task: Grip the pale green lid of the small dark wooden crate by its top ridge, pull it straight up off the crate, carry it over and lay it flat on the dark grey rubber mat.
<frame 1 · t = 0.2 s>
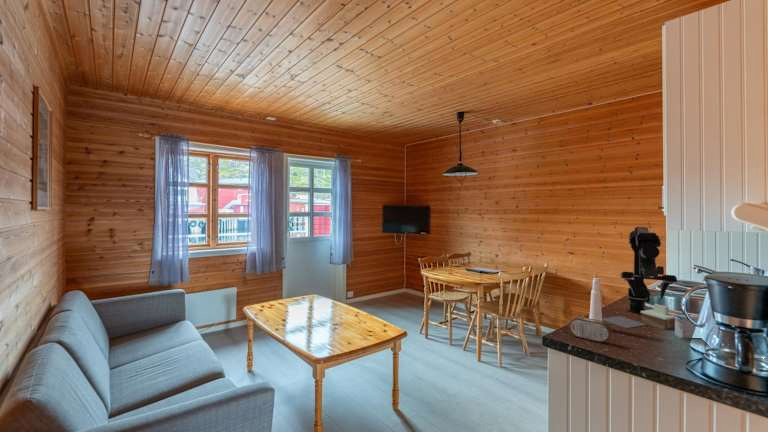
hand: (647, 297, 147), 15 cm above the worktop, tool pointing down, fingers open, 9 cm apart
medicine box: (688, 337, 143), on the worktop
crate: (660, 324, 158), on the worktop
tin: (589, 340, 141), on the worktop
cosmetic bottle: (595, 327, 155), on the worktop
lid: (660, 315, 158), point 4 cm above the worktop, touching crate
mat: (622, 322, 161), on the worktop
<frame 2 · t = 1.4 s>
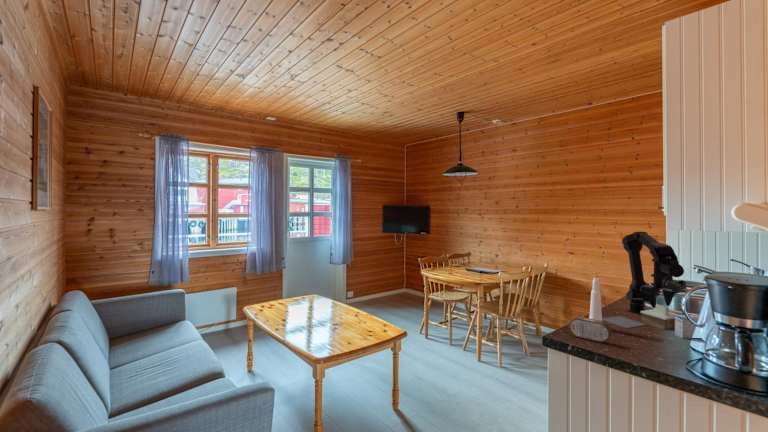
hand: (660, 306, 158), 8 cm above the worktop, tool pointing down, fingers open, 9 cm apart
nothing on the worktop moved.
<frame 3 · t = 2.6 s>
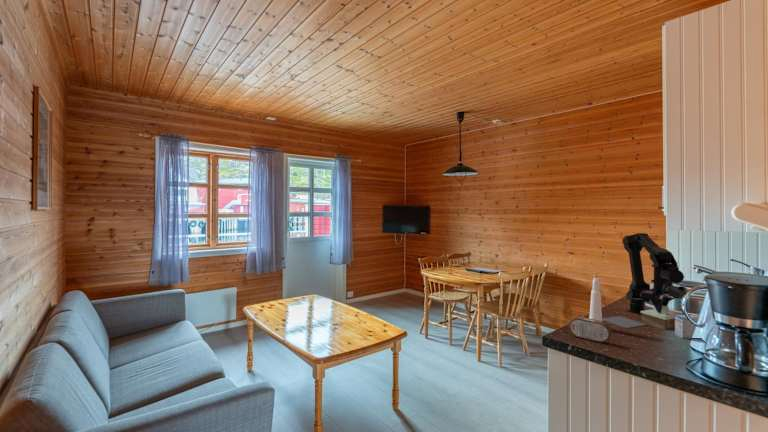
hand: (660, 312, 158), 6 cm above the worktop, tool pointing down, fingers closed on lid
lid: (660, 315, 158), point 4 cm above the worktop, touching crate, gripper
everything else where it was.
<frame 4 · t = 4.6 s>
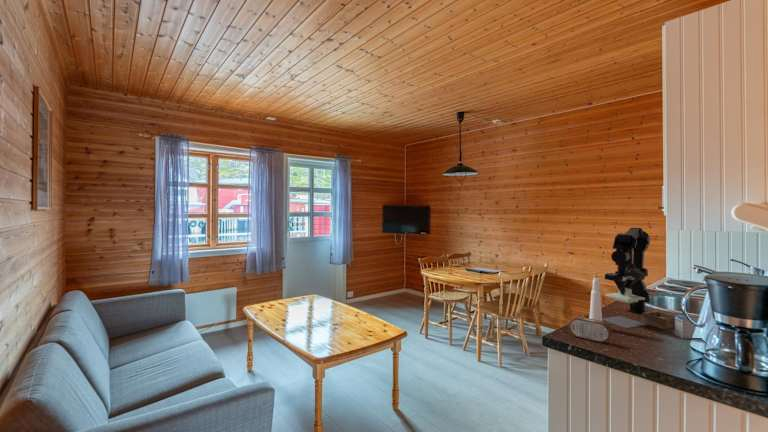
hand: (624, 294, 161), 13 cm above the worktop, tool pointing down, fingers closed on lid
lid: (624, 297, 161), point 12 cm above the worktop, touching gripper
everything else where it was.
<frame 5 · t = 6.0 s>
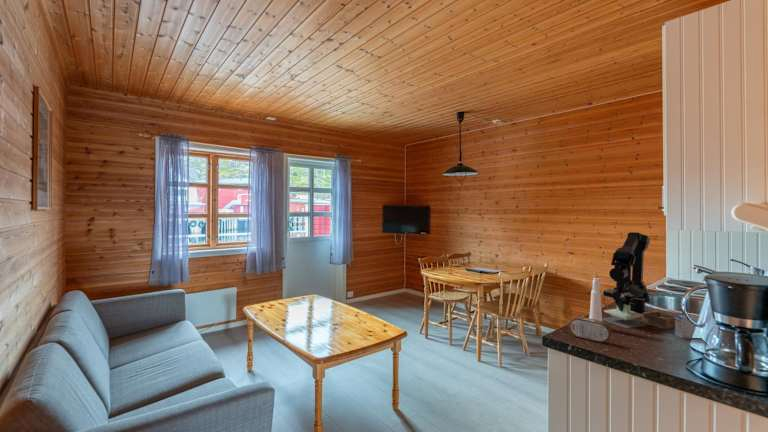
hand: (623, 310, 161), 5 cm above the worktop, tool pointing down, fingers closed on lid
lid: (623, 314, 161), point 4 cm above the worktop, touching gripper
everything else where it was.
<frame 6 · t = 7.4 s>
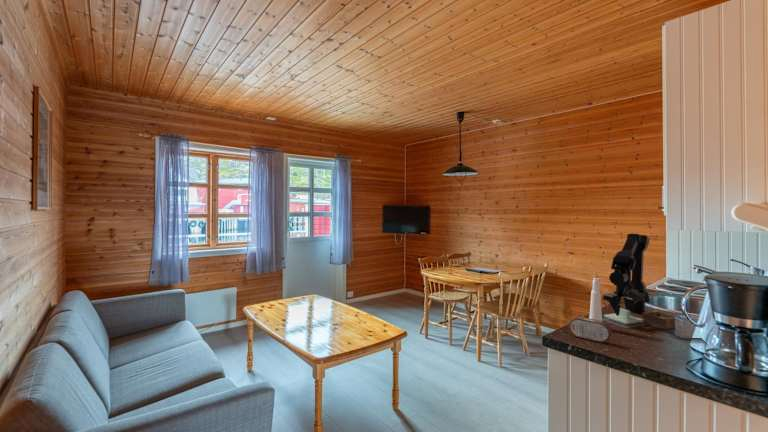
hand: (623, 314, 161), 3 cm above the worktop, tool pointing down, fingers open, 7 cm apart
lid: (623, 318, 161), point 2 cm above the worktop, touching mat
everything else where it was.
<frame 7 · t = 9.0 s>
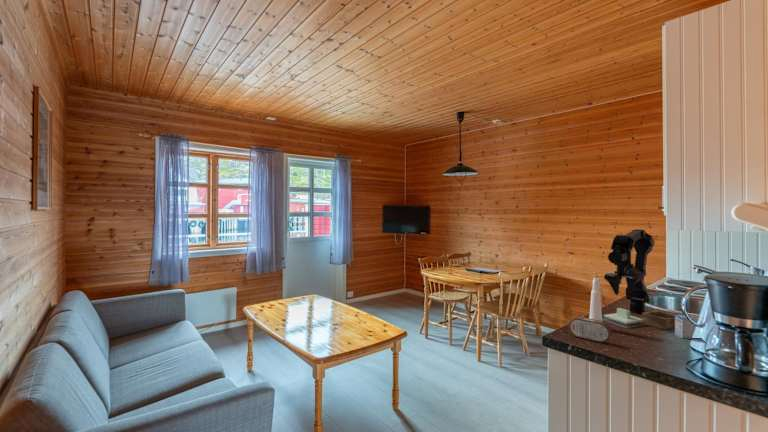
hand: (623, 293, 166), 12 cm above the worktop, tool pointing down, fingers open, 9 cm apart
nothing on the worktop moved.
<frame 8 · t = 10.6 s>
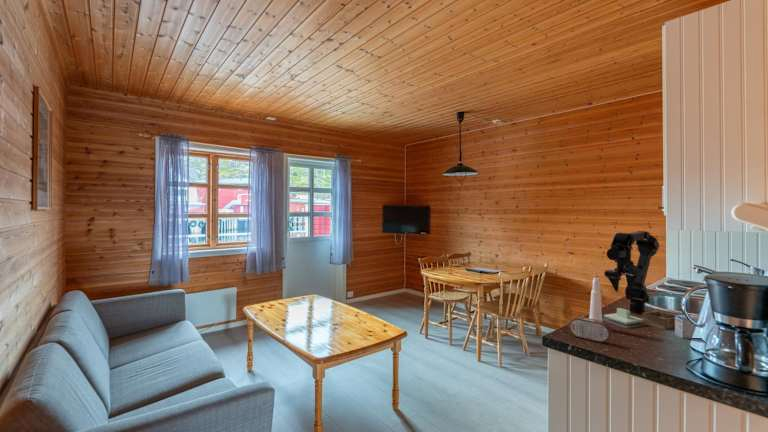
hand: (623, 290, 169), 13 cm above the worktop, tool pointing down, fingers open, 9 cm apart
nothing on the worktop moved.
at the end: lid inside the target area (0.1 cm from its centre), point 1.7 cm above the worktop; lid tilted 0°; the gripper is holding nothing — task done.
